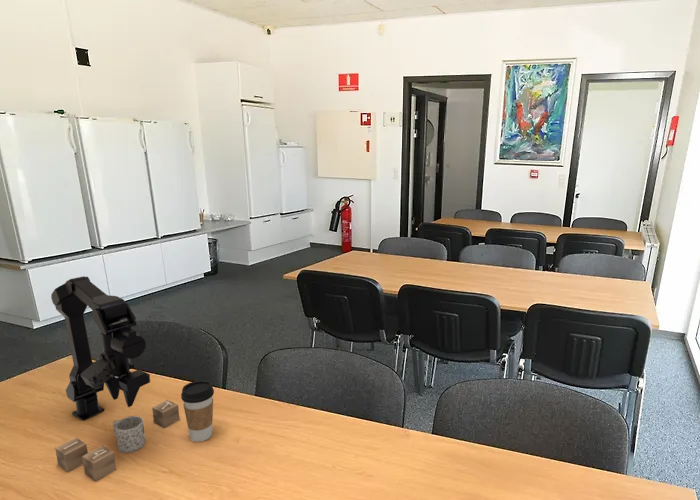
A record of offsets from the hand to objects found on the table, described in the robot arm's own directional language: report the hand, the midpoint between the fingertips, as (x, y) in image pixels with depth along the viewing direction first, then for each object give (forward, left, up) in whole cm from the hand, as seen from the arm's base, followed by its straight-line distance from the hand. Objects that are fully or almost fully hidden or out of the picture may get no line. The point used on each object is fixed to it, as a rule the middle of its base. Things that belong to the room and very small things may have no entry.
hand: (122, 402), depth 118 cm
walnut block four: (+5, -10, -12) cm, 17 cm away
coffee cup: (+14, +13, -12) cm, 23 cm away
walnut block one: (-4, -12, -12) cm, 18 cm away
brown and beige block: (0, +12, -12) cm, 17 cm away
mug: (0, 0, -12) cm, 12 cm away
